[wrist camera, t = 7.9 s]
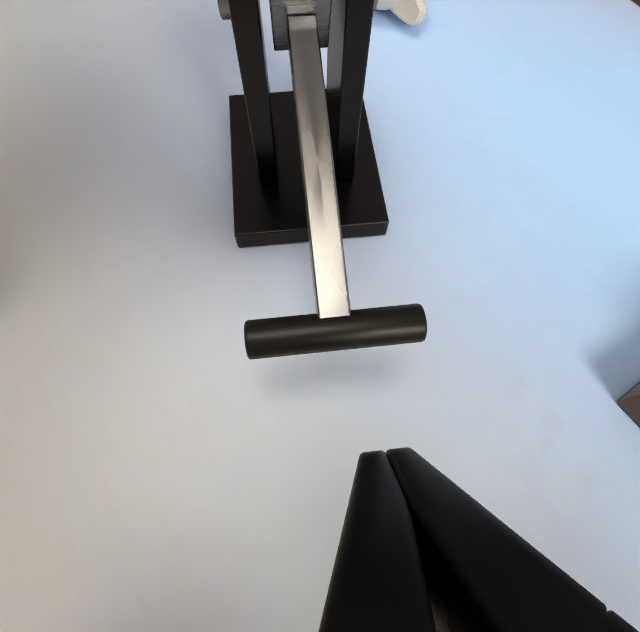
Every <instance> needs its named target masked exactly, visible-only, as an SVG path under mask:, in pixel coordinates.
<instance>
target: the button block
mask: <svg viewBox="0 0 640 632" xmlns="http://www.w3.org/2000/svg"><path fill="white" fill-rule="evenodd" d="M617 403H618V404H619V405H620V406H621V407H622V409H623V410H624V411H625V412H626V413H627V414H628V415H629V416H630V417H631V418H632V419H633V420H634V421H635V422H636V423H637V424H638V425H639V426H640V383H638V384H637V385H636V386H635V387H634V388H632V389H631V390H630V391H629V392H628V393H627V394H625V395H624V396H623V397H622V398H621V399H619V400H618V401H617Z"/></svg>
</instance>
